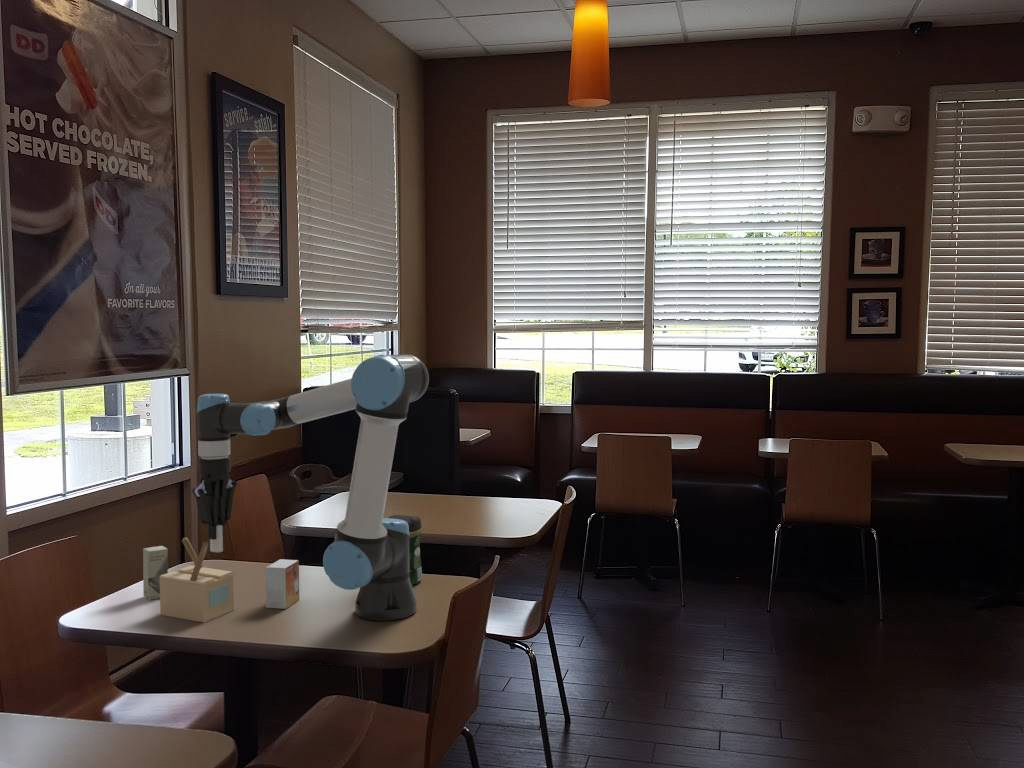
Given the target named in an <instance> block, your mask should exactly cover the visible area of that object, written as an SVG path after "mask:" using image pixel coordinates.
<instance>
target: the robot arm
mask: <svg viewBox="0 0 1024 768" xmlns="http://www.w3.org/2000/svg"><path fill="white" fill-rule="evenodd" d="M429 382H430V375H429V371H428V368H427V366H426V365H425V363H424V362H423V361H421V359H419V358H418V357H417V356H415V355H413V354H410V353H409V354H408V353H401V354H400V353H399V354H378V355H375V356H372V357H369V358H367V359H365V360H363V361H362V362H361V363H359V364H358V365H357V366H356V368H355V369H354V372H353V373H352V376H351V378H348V379H344V380H342V381H338V382H334V383H330V384H327V385H324V386H321V387H320V386H319V387H316V388H313V389H309V390H305V391H302V392H299V393H295V394H291V395H287V396H284V397H280V398H277V399H271V400H264V401H256V402H249V403H247V402H246V403H243V402H242V403H241V402H240V403H239V402H237V403H236V402H235V403H234V402H231V400H230V396H229V394H227V393H205V394H201V395H199V396H198V397H197V405H196V406H197V407H196V418H197V451H198V453H197V455H198V456H199V459H197V461H198V462H197V463H198V473H199V474H200V480H199V485H198V486H197V487H194V488H192V490H191V491H192V493H193V495H194V497H195V501H196V506H197V510H198V515H199V519H200V523H201V525H203V526H207V529H208V539H209V552H212V553H217V554H218V553H222V552H224V547H223V546H224V541H223V540H224V539H223V537H224V535H225V530H224V529H225V528H224V527H225V525H228V521H230V520H231V514H232V509H233V501H234V495H235V490H236V487H237V485H238V482H237V481H236V480H232V479H230V477H231V476H230V474H229V473H230V472H231V470H232V463H231V462H232V461H231V457H230V455H231V453H232V452H231V451H232V450H231V435H232V434H233V435H234V434H235V435H249V436H252V437H253V436H254V437H256V436H266V435H268V434H270V433H271V431H274V430H275V431H276V430H280V429H289V428H292V427H294V426H296V425H299V424H303V423H308V422H311V421H314V420H319V419H322V418H326V417H329V416H334V415H337V414H341V413H346V412H349V411H353V410H355V412H356V413H357V415H358V416H359V417H360V424H359V431H358V437H357V443H356V448H355V449H356V450H355V455H354V460H353V468H352V473H351V479H350V485H349V491H348V498H347V504H346V511H345V517H344V519H342V520H341V521H340V522H338V523H337V526H336V531H335V537H334V541H333V542H332V543H331V544H330V545H328V546H327V548H326V549H325V551H324V553H323V557H322V565H323V570H324V572H325V575H326V576H328V579H329V580H330V581H331V582H332V584H334V585H335V586H337V587H338V588H340V589H343V590H348V591H351V590H357V589H359V591H358V593H357V597H356V599H355V604H354V610H355V611H354V613H355V615H356V616H357V617H359V618H360V619H364V620H369V621H375V622H380V621H381V622H384V621H385V622H389V621H396V620H402V619H406V618H407V617H411V616H413V615H414V614H415V613H416V612H417V611H418V603H417V602H418V601H417V598H416V595H415V591H414V589H413V584H412V585H411V582H410V578H409V537H410V534H409V525H408V523H407V522H406V521H404V520H400V519H391V518H388V517H385V518H384V514H385V508H386V503H387V496H388V490H389V486H390V480H391V479H390V477H391V473H392V472H391V471H392V467H393V460H394V457H395V456H394V455H395V449H396V443H397V438H398V431H399V425H400V424H401V423H402V422H404V421H406V420H407V417H408V413H409V406H410V403H413V402H415V401H417V400H419V399H420V398H421V397H423V395H424V394H425V393H426V391H427V389H428V387H429V384H430V383H429ZM416 610H417V611H416ZM412 614H413V615H412ZM410 615H411V616H410Z"/></svg>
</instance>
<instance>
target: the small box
mask: <svg viewBox="0 0 1024 768" xmlns="http://www.w3.org/2000/svg"><path fill="white" fill-rule="evenodd" d="M264 574H265V607H266V609H280V610H281V609H283V610H284V609H285V610H286V609H288V608H289V607H290V606H292V605H294V604H295V603H297V602H299V601H300V561H299V560H298V559H282V558H281V559H278V560H276V561H275V562H273V563H271V564H270V565H267V566H266V567H265V573H264Z"/></svg>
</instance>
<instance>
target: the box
mask: <svg viewBox="0 0 1024 768" xmlns="http://www.w3.org/2000/svg"><path fill="white" fill-rule="evenodd" d="M168 555H169V554H168V548H167V547H165V546H163V545H158V546H151V547H144V548H142V557H143V558H142V560H143V562H142V564H143V565H142V566H143V569H142V573H143V574H142V577H143V578H142V579H143V581H142V582H143V585H142V586H143V597H144V598H145V599H147V600H149V601H150V600H151V601H152V600H156V599H160V576H161V575H164V574H167V573H169V570H168V569H169V568H168V567H169V566H168V565H169V562H168V561H169V559H168V557H169V556H168Z"/></svg>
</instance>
